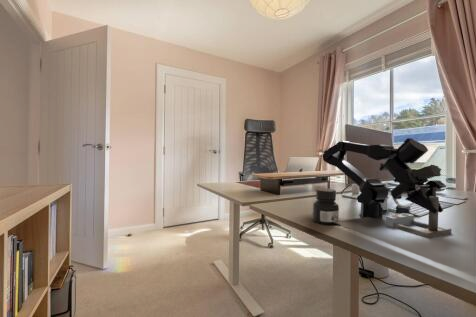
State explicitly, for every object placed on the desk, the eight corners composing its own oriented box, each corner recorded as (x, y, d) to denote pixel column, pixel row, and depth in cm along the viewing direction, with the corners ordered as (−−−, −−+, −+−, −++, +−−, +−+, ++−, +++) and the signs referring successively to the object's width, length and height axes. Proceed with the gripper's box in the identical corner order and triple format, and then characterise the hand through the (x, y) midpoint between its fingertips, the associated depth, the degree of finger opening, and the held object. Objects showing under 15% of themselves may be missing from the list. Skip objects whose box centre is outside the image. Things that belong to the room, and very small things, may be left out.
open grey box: (385, 227, 78) (385, 220, 78) (406, 224, 82) (406, 217, 82) (429, 242, 66) (429, 233, 66) (451, 236, 70) (451, 228, 70)
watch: (414, 217, 91) (415, 190, 91) (390, 213, 97) (391, 187, 96) (416, 214, 95) (416, 188, 95) (393, 210, 101) (393, 186, 101)
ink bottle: (324, 227, 78) (325, 192, 78) (307, 220, 87) (307, 188, 86) (344, 223, 82) (345, 190, 82) (326, 217, 91) (326, 187, 90)
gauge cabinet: (385, 227, 78) (385, 215, 78) (406, 224, 82) (406, 212, 82) (392, 230, 75) (393, 216, 75) (414, 226, 80) (414, 213, 79)
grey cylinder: (419, 233, 70) (420, 196, 69) (434, 230, 72) (435, 195, 72) (430, 236, 67) (432, 198, 66) (446, 233, 70) (447, 196, 69)
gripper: (401, 156, 69) (444, 199, 59) (438, 156, 76) (482, 194, 66) (376, 179, 77) (410, 220, 67) (412, 177, 84) (447, 214, 74)
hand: (438, 212), depth 68 cm, fingers closed on grey cylinder, 2 cm apart
